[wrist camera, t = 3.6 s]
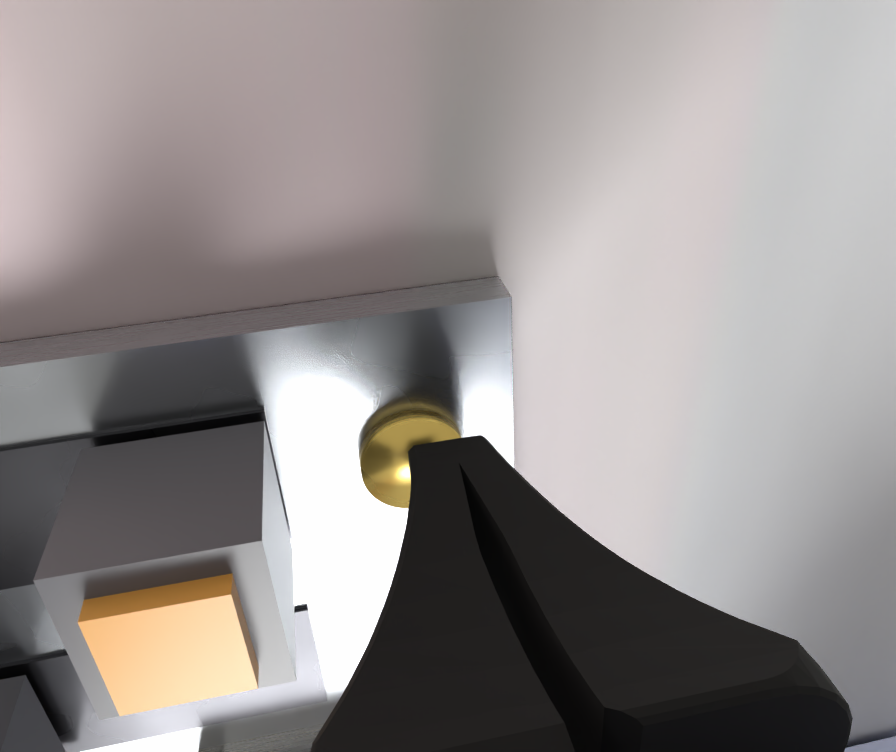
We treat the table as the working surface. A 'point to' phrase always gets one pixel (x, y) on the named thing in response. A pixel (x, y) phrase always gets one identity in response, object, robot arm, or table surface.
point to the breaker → (24, 719)
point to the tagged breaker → (173, 570)
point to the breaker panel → (295, 461)
